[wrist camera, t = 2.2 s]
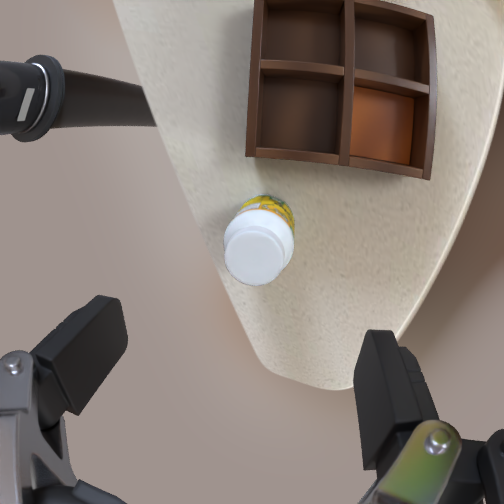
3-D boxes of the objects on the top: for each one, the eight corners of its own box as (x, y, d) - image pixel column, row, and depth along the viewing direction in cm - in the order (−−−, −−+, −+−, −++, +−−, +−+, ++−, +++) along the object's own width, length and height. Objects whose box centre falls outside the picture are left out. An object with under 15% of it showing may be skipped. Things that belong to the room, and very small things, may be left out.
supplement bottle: (229, 208, 29) (199, 240, 20) (279, 184, 27) (271, 205, 19) (254, 255, 30) (237, 305, 21) (303, 234, 29) (306, 278, 20)
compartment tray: (252, 154, 27) (244, 156, 23) (261, 6, 21) (255, -13, 17) (412, 174, 25) (430, 180, 21) (417, 29, 19) (433, 15, 15)
